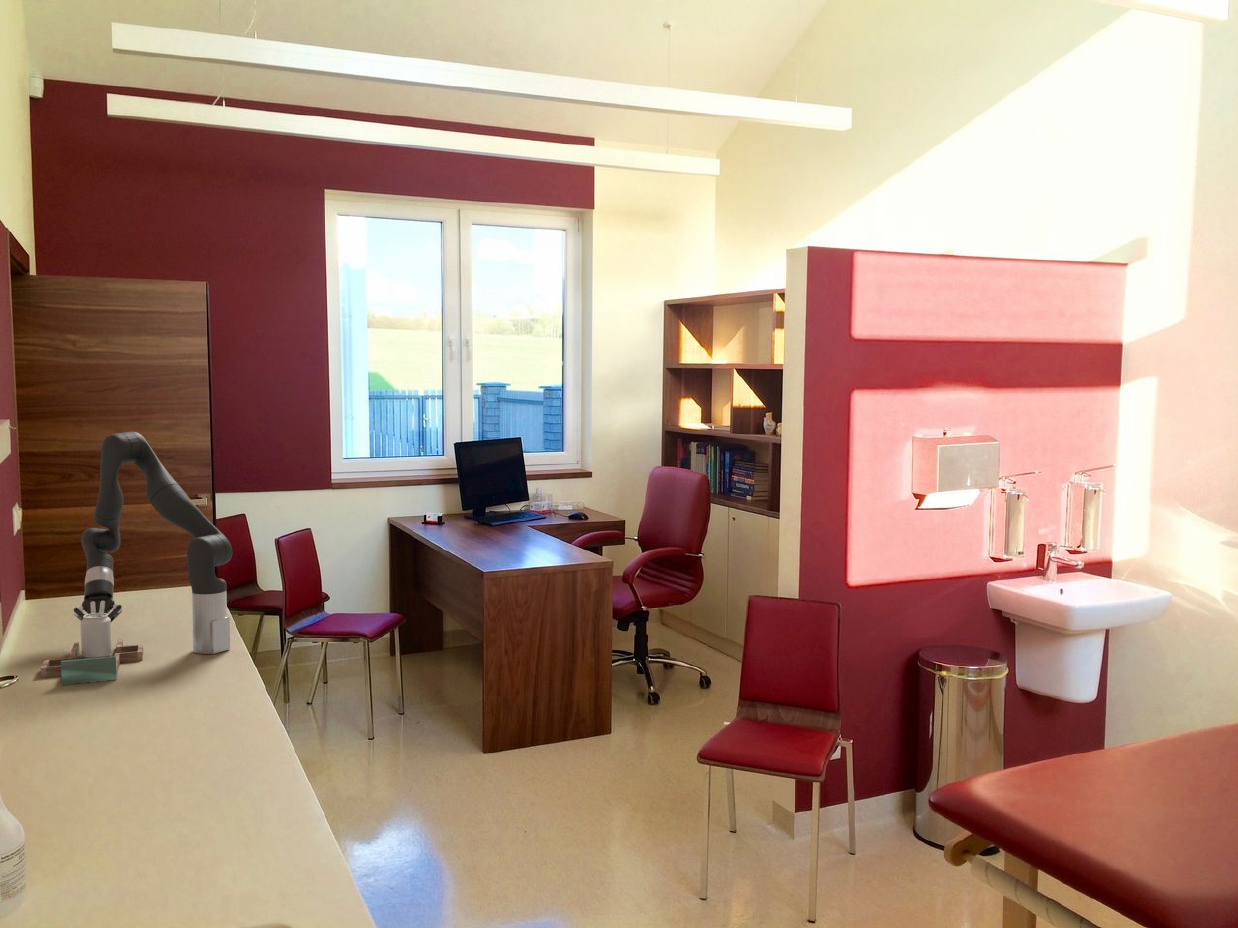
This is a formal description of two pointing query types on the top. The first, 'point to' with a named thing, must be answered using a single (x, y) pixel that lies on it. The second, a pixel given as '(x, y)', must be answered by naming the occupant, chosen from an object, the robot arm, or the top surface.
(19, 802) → the top surface
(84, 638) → the can
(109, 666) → the trap channel
